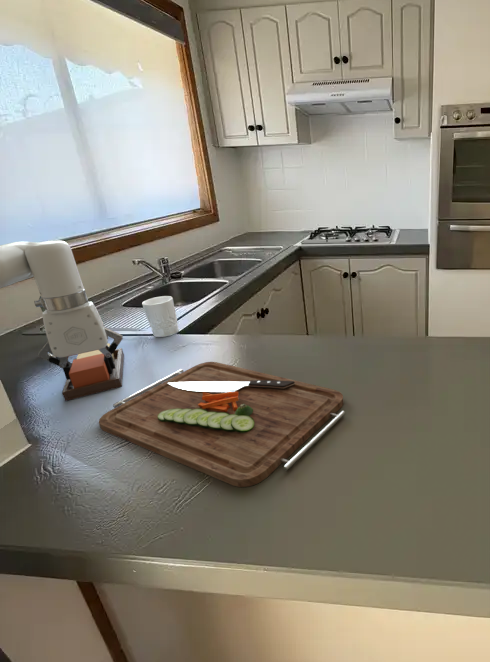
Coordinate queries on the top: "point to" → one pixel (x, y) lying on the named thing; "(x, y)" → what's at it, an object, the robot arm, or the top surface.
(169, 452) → the chopping board
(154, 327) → the white cup
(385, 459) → the top surface
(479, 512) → the top surface
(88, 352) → the beige pad
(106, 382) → the tray
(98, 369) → the terracotta pad
